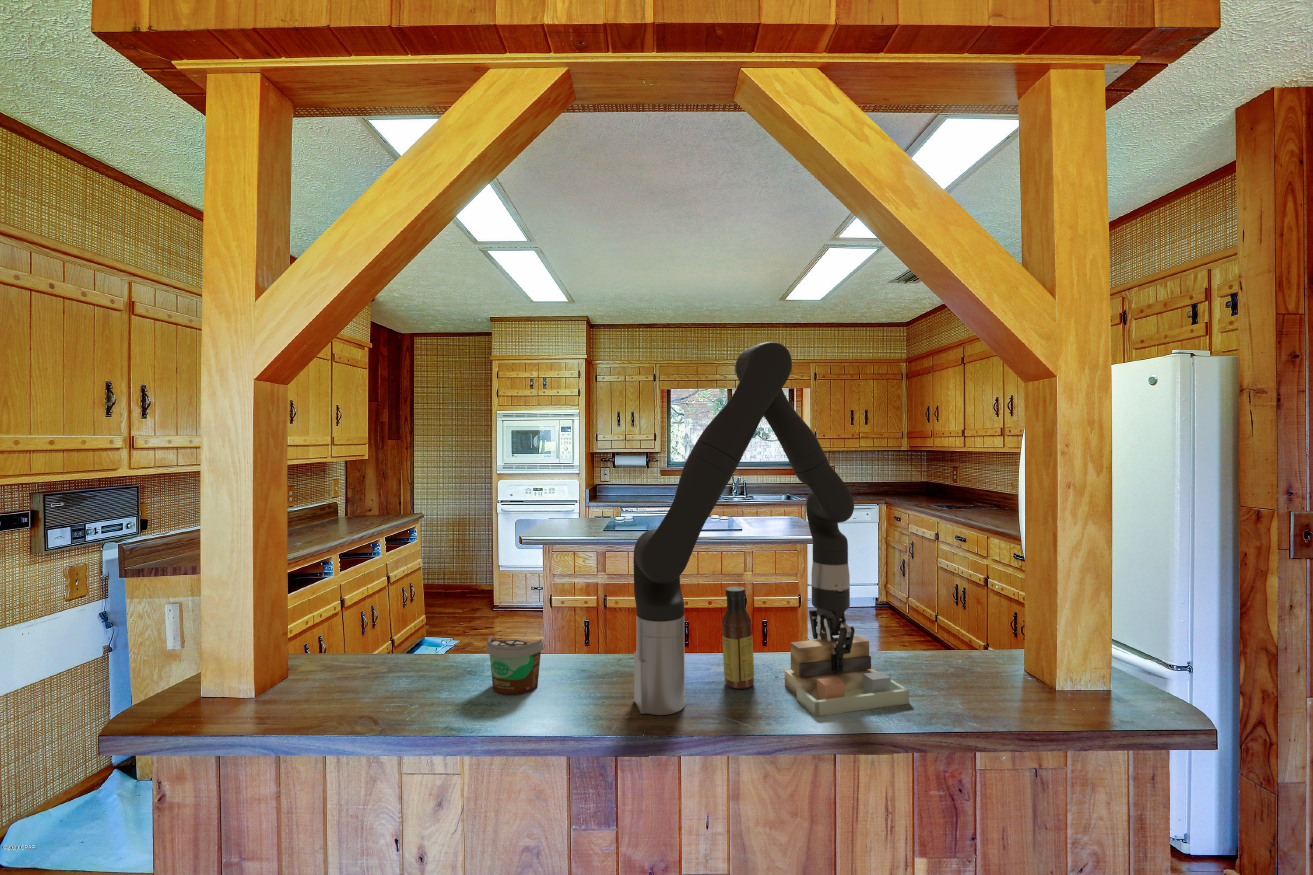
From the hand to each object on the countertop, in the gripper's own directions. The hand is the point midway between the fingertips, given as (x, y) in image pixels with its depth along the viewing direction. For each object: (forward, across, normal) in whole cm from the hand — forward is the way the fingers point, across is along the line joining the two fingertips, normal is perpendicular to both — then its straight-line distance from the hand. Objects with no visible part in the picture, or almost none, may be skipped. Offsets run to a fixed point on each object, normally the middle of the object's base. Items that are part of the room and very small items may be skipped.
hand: (831, 667), depth 119 cm
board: (+4, 0, 0) cm, 4 cm away
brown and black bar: (0, 0, 0) cm, 0 cm away
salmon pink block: (+1, +6, -5) cm, 8 cm away
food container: (+4, -15, -64) cm, 66 cm away
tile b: (+1, +6, +5) cm, 8 cm away
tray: (+4, +8, 0) cm, 8 cm away
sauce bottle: (+4, -6, -18) cm, 19 cm away
